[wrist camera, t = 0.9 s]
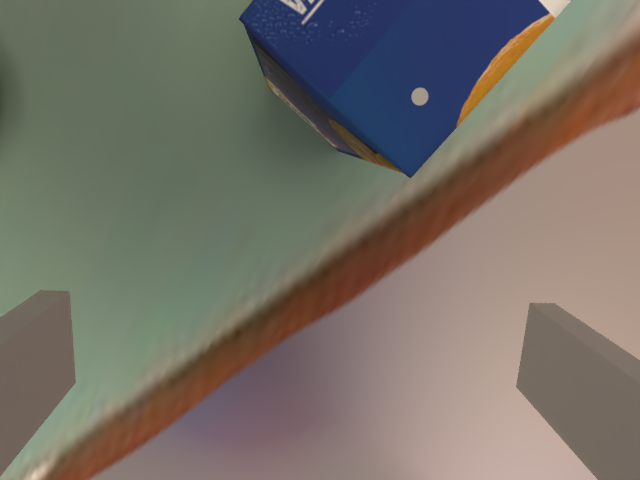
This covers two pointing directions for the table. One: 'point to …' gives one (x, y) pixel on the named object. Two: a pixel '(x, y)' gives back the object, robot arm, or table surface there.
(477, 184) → the table surface
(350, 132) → the beverage box
